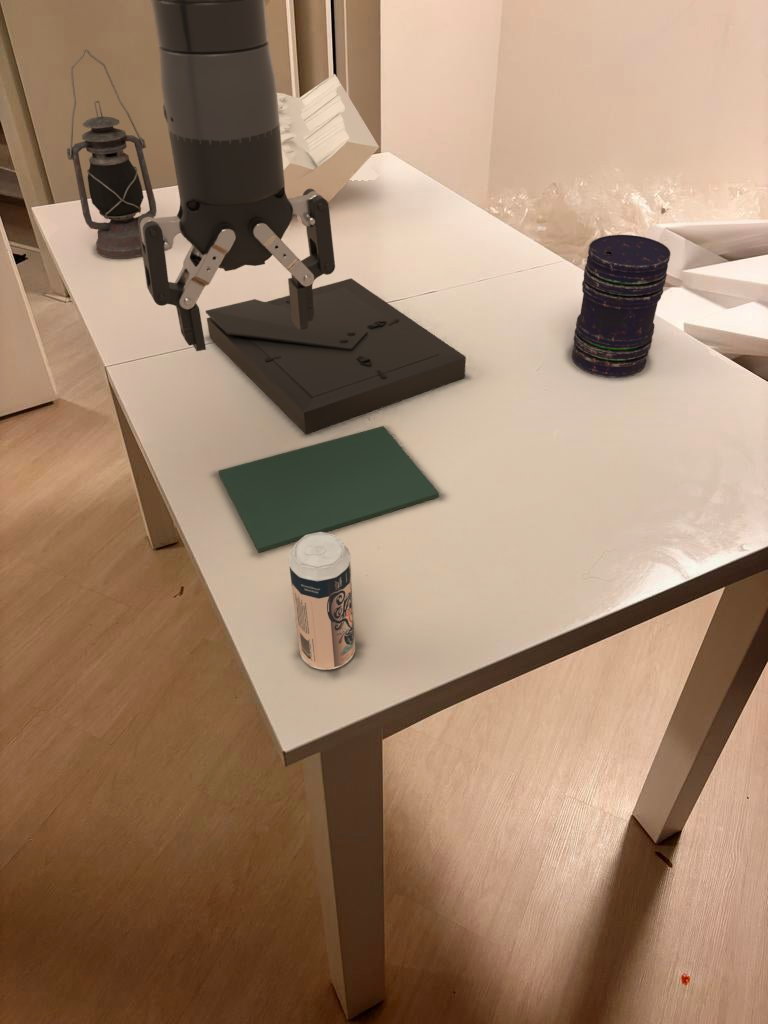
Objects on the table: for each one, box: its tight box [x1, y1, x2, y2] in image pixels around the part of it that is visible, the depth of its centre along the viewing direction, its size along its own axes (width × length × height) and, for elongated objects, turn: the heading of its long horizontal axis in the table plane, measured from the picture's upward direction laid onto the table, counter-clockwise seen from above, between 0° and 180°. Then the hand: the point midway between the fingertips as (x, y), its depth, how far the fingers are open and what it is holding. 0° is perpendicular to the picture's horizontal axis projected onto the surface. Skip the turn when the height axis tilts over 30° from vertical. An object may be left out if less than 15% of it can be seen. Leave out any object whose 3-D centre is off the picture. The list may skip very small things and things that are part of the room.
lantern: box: [66, 49, 158, 260], centre depth 129 cm, size 12×11×30 cm
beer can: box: [288, 532, 356, 671], centre depth 65 cm, size 5×5×12 cm
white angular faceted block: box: [277, 73, 380, 204], centre depth 142 cm, size 20×16×25 cm
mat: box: [218, 425, 440, 553], centre depth 87 cm, size 20×14×1 cm
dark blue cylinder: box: [571, 234, 672, 379], centre depth 102 cm, size 10×10×15 cm
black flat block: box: [205, 278, 467, 435], centre depth 107 cm, size 23×4×28 cm
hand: (250, 335), depth 65 cm, fingers open, 8 cm apart
